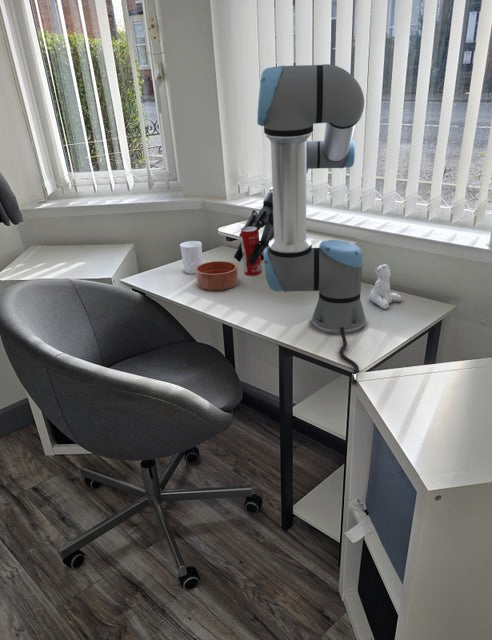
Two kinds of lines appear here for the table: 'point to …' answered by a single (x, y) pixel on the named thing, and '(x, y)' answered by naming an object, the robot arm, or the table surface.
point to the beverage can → (250, 250)
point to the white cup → (191, 255)
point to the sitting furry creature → (383, 288)
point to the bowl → (217, 275)
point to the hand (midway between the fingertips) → (243, 261)
